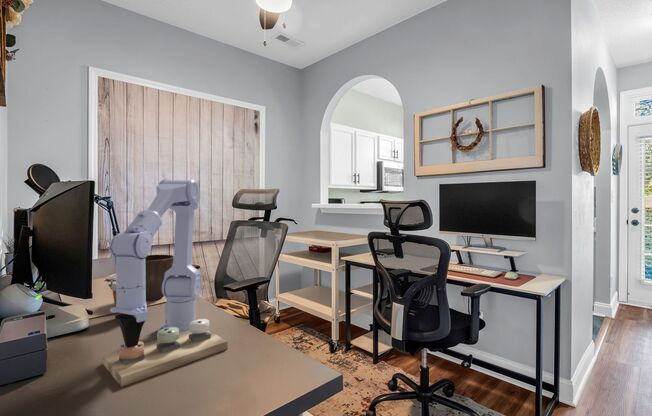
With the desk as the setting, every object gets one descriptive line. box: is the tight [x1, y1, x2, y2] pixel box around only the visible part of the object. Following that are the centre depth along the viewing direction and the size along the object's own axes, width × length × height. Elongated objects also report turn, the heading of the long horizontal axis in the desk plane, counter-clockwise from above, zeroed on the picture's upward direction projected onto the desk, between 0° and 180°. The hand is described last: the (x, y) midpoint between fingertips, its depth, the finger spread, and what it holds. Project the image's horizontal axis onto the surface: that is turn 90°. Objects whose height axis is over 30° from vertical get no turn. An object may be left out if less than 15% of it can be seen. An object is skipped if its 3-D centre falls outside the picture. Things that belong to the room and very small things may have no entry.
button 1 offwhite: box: [190, 318, 210, 333], centre depth 87 cm, size 5×5×2 cm
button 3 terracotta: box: [118, 340, 145, 360], centre depth 75 cm, size 5×5×2 cm
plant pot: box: [145, 254, 174, 301], centre depth 130 cm, size 15×15×16 cm
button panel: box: [102, 330, 229, 388], centre depth 81 cm, size 14×24×3 cm, turn 137°
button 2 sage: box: [156, 327, 179, 343], centre depth 81 cm, size 5×5×2 cm
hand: (131, 345), depth 75 cm, fingers closed, pressing on button 3 terracotta
